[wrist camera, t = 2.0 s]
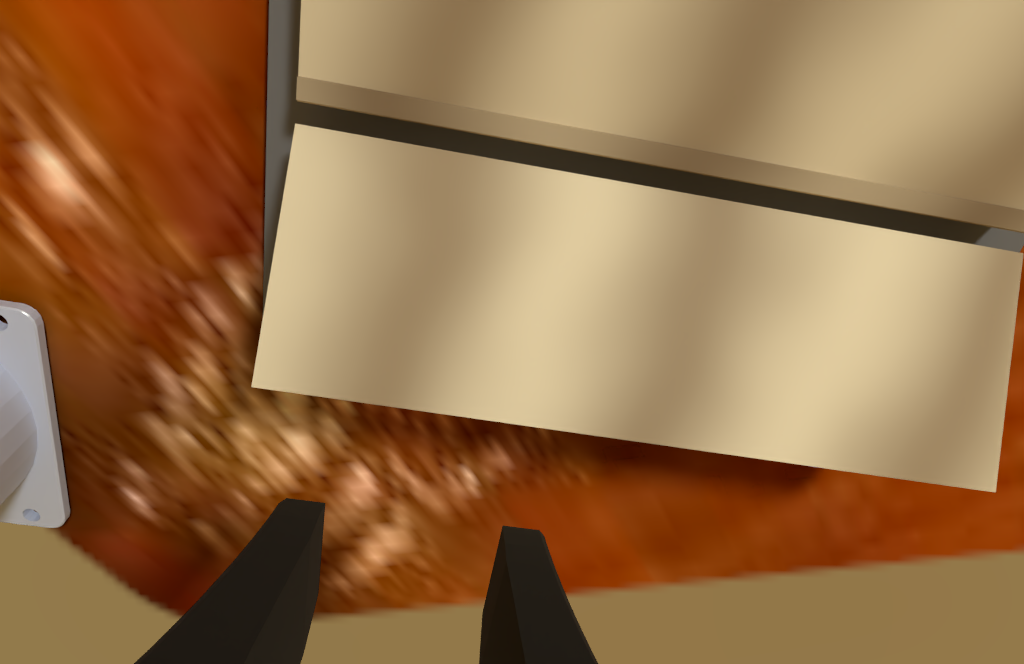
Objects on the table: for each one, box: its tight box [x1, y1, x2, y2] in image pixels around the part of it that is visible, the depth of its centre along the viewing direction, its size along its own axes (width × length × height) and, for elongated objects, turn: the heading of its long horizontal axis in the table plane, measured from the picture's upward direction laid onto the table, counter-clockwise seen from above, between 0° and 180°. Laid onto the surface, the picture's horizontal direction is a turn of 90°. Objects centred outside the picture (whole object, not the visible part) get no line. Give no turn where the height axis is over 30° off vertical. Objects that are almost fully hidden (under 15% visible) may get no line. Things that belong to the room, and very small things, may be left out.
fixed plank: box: [296, 0, 1024, 233], centre depth 16 cm, size 18×6×1 cm, turn 80°
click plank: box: [251, 124, 1023, 492], centre depth 17 cm, size 18×6×1 cm, turn 80°
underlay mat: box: [263, 0, 1024, 314], centre depth 18 cm, size 20×16×1 cm
